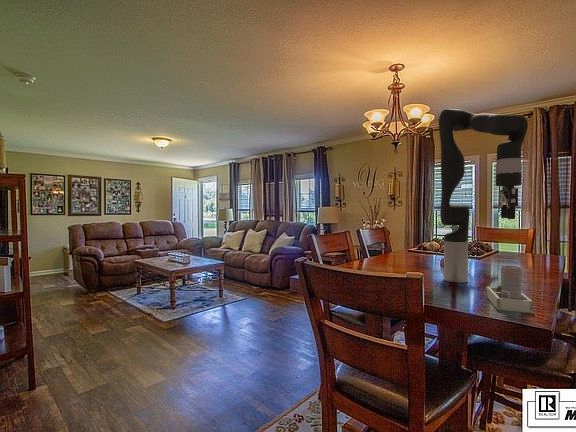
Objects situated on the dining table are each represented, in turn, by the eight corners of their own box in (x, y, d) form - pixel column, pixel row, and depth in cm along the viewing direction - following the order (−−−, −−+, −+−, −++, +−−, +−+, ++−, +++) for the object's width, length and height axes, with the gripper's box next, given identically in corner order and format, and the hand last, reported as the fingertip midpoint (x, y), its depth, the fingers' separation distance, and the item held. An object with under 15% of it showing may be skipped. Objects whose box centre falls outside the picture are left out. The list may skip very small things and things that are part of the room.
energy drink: (514, 302, 100) (514, 265, 100) (525, 307, 95) (525, 268, 95) (496, 302, 101) (497, 265, 101) (506, 307, 96) (507, 268, 95)
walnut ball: (494, 296, 108) (494, 282, 108) (511, 297, 106) (511, 283, 106) (498, 299, 104) (498, 285, 104) (515, 301, 102) (515, 286, 102)
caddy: (486, 296, 111) (486, 286, 110) (517, 299, 107) (517, 289, 107) (497, 309, 96) (497, 298, 96) (533, 313, 92) (533, 301, 92)
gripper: (491, 174, 117) (490, 217, 117) (500, 170, 104) (499, 219, 104) (515, 173, 114) (514, 218, 114) (528, 169, 101) (527, 219, 101)
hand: (507, 218), depth 109 cm, fingers open, 8 cm apart
